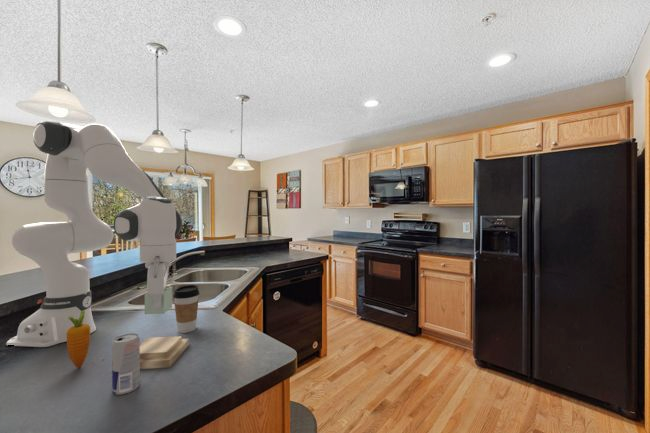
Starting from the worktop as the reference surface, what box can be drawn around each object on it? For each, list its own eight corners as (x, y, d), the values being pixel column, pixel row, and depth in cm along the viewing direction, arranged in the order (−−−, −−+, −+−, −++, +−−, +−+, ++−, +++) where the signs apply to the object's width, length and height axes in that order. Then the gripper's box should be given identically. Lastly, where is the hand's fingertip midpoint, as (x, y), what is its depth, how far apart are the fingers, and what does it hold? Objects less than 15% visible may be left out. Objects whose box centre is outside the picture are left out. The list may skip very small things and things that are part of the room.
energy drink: (121, 382, 68) (121, 333, 68) (144, 381, 69) (144, 332, 69) (106, 396, 63) (105, 343, 63) (131, 394, 64) (130, 342, 64)
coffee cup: (204, 325, 104) (203, 284, 104) (191, 335, 95) (190, 291, 95) (183, 324, 104) (182, 284, 104) (168, 334, 96) (167, 290, 96)
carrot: (70, 375, 72) (69, 316, 72) (63, 369, 74) (62, 313, 74) (94, 365, 76) (93, 311, 76) (87, 361, 79) (86, 308, 79)
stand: (118, 370, 74) (118, 357, 74) (145, 347, 87) (145, 335, 87) (169, 367, 75) (169, 354, 75) (189, 344, 88) (188, 333, 88)
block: (144, 314, 76) (144, 292, 76) (153, 307, 81) (153, 287, 81) (164, 313, 76) (164, 291, 76) (172, 307, 81) (172, 287, 81)
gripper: (169, 259, 71) (169, 313, 71) (172, 249, 89) (172, 292, 89) (140, 261, 68) (140, 317, 68) (149, 250, 86) (149, 294, 86)
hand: (158, 303), depth 79 cm, fingers closed on block, 6 cm apart
